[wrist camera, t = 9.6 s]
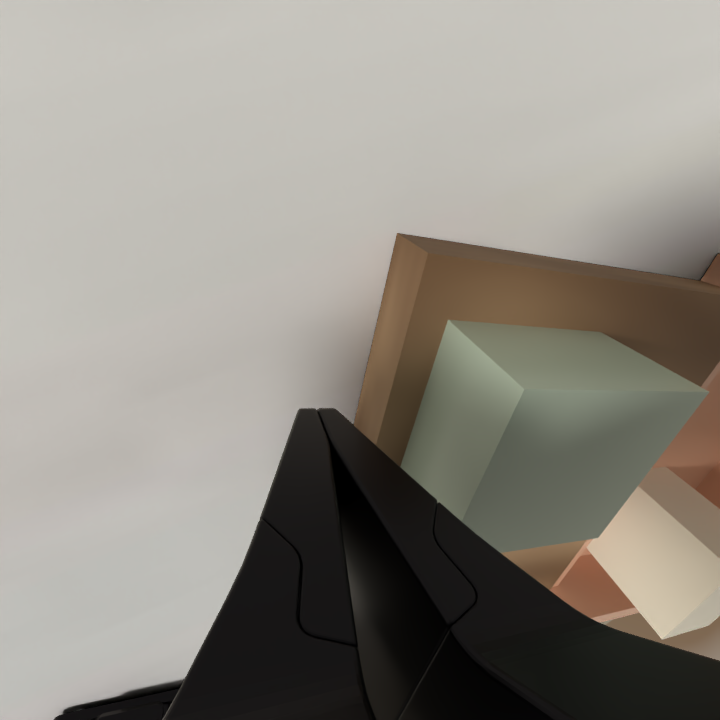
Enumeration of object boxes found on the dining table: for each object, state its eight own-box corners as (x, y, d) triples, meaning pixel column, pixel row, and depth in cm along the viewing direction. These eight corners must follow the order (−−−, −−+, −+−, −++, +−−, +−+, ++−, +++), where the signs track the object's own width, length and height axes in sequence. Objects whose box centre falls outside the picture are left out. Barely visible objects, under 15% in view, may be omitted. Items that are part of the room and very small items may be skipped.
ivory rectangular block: (577, 537, 20) (618, 530, 21) (662, 639, 16) (708, 625, 17) (622, 471, 18) (665, 466, 19) (734, 572, 14) (784, 560, 15)
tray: (642, 543, 24) (695, 598, 22) (519, 564, 21) (562, 631, 18) (866, 282, 16) (1003, 314, 13) (717, 253, 13) (854, 286, 10)
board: (525, 553, 21) (550, 589, 19) (316, 586, 17) (324, 634, 15) (700, 280, 13) (764, 300, 12) (397, 233, 10) (428, 252, 8)
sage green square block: (530, 460, 13) (598, 537, 10) (399, 468, 11) (442, 561, 9) (600, 332, 11) (709, 391, 8) (448, 319, 9) (524, 388, 7)
